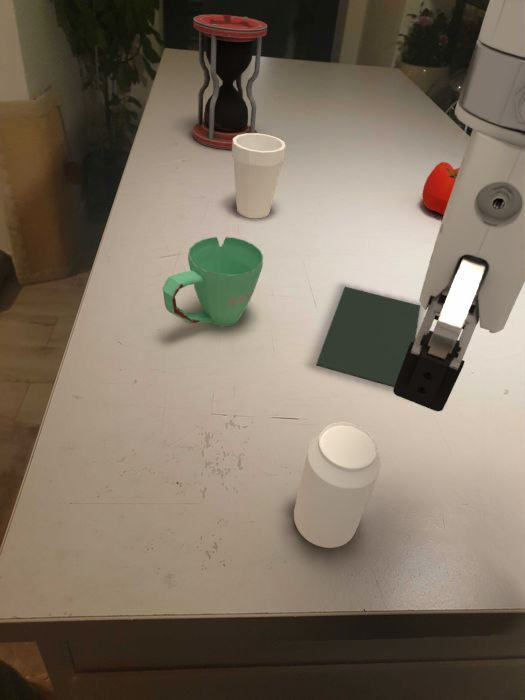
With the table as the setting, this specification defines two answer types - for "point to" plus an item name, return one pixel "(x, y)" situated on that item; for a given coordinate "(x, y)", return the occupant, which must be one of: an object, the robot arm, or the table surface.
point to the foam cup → (256, 172)
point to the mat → (369, 336)
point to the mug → (217, 280)
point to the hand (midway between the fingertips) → (434, 357)
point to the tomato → (439, 187)
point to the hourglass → (226, 77)
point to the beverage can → (336, 484)
